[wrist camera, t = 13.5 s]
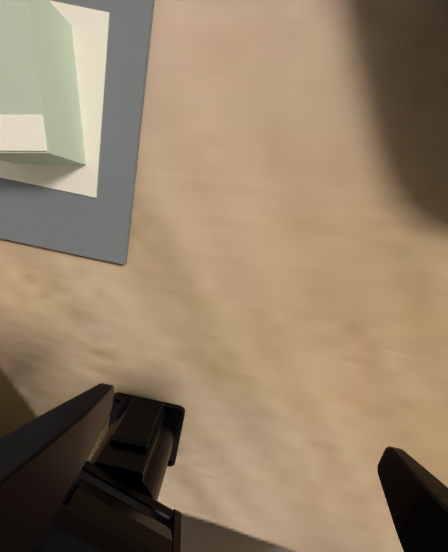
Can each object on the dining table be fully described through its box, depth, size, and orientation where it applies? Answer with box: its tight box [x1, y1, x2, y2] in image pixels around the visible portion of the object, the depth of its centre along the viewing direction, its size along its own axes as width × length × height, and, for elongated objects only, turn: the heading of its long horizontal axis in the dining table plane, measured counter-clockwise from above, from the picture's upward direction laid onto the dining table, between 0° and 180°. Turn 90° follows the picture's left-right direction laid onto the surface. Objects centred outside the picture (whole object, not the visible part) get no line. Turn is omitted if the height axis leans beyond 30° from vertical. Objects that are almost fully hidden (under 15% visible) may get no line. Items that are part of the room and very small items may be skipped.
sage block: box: [0, 0, 86, 165], centre depth 15 cm, size 5×8×4 cm, turn 179°
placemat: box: [0, 0, 154, 265], centre depth 17 cm, size 20×13×1 cm, turn 168°
